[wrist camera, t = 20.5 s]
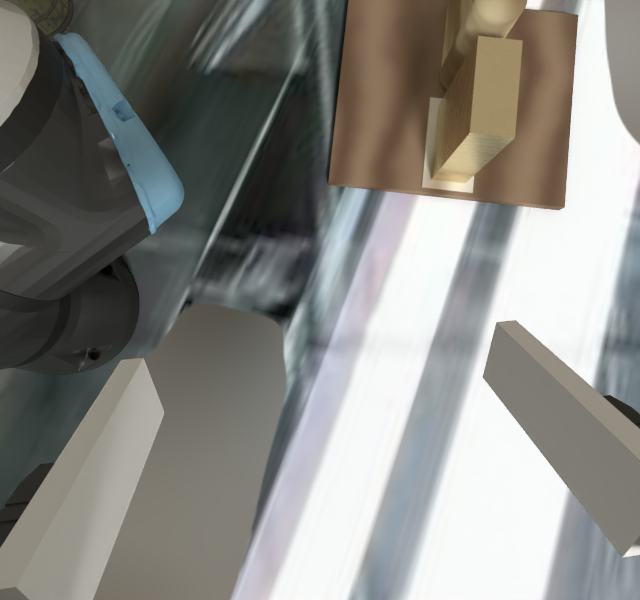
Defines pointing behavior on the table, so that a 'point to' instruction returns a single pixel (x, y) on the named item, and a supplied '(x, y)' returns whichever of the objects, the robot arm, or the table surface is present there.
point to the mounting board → (430, 87)
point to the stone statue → (48, 14)
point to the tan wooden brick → (478, 110)
